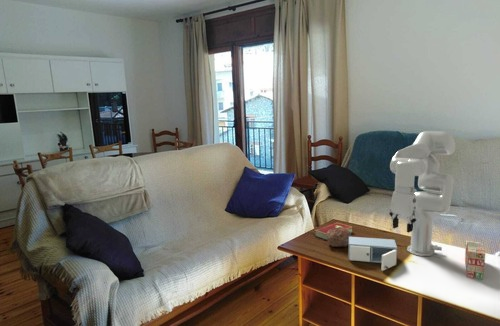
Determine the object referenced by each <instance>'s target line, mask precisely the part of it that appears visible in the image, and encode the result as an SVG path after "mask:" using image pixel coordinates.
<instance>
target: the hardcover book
mask: <svg viewBox="0 0 500 326" xmlns="http://www.w3.org/2000/svg"><path fill="white" fill-rule="evenodd" d="M341 228H342V229H343V228H345V229H348V230H349V231H350V233H351V234H352V233H353V226H351V225H348V224H344V223H341V222H334V223H331V224H328V225H326V226H324V227H319V228H318V229H315V230H314V234H313V235H314V237H318V238H320V239H323V240H326V241H328V237H327V232H328V230H331V229H341Z"/></svg>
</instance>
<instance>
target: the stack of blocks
mask: <svg viewBox="0 0 500 326" xmlns="http://www.w3.org/2000/svg"><path fill="white" fill-rule="evenodd" d="M464 248H465V251H464V252H465V253H464V265H465V274H466V275H465V276H466V278H472V279H477V280H482V281H483V280H484V274H485V273H484V271H485V262H486V261H485V260H486V250H485V246H484V243H483V242H479V241H478V242H477V241H472V240H465V247H464Z"/></svg>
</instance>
